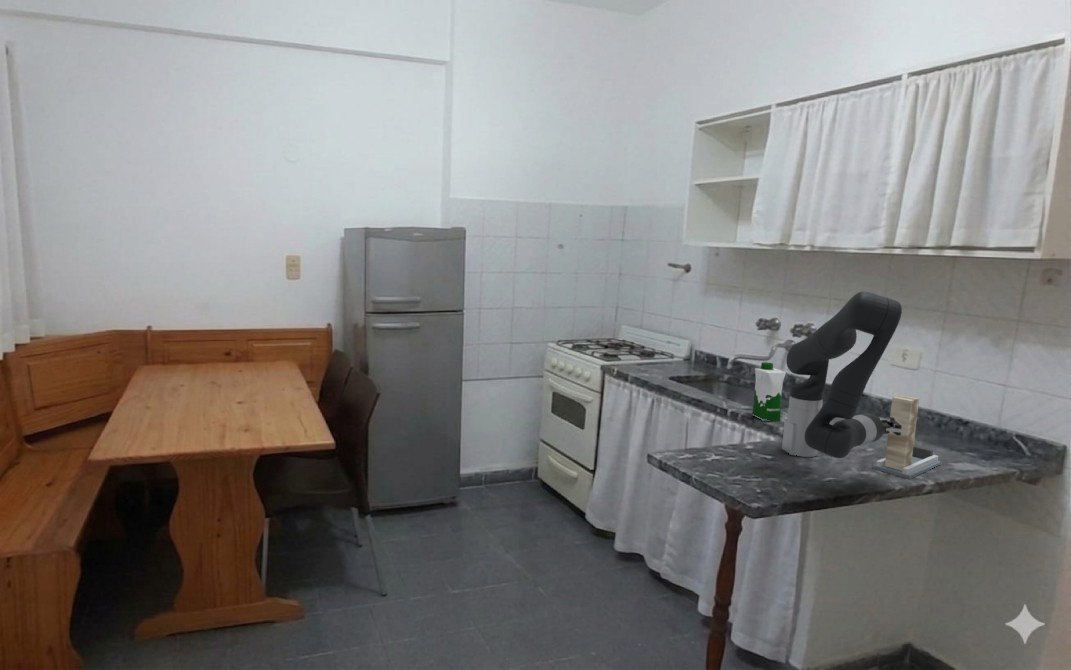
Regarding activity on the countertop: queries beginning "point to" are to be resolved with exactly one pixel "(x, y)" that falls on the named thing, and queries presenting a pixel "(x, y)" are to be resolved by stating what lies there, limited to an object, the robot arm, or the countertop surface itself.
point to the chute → (912, 463)
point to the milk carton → (768, 392)
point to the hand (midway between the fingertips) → (891, 420)
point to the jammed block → (902, 432)
